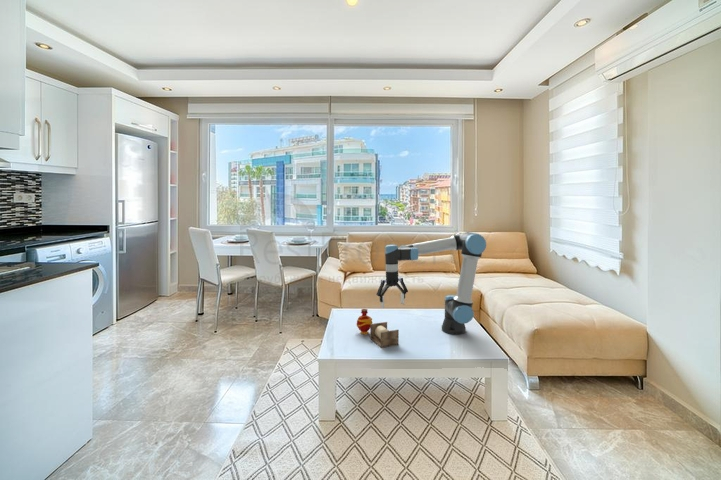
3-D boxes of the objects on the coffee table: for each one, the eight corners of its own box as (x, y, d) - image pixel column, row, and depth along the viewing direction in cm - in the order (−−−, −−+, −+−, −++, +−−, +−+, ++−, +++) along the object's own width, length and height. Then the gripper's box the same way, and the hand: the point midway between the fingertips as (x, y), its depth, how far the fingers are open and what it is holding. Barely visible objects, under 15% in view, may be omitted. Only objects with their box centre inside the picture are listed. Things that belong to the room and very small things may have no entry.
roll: (384, 336, 212) (385, 325, 212) (392, 343, 202) (394, 331, 201) (373, 336, 210) (375, 325, 209) (382, 343, 199) (383, 331, 199)
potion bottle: (358, 336, 214) (358, 312, 213) (355, 330, 225) (355, 307, 223) (374, 335, 216) (374, 311, 215) (370, 329, 227) (370, 307, 225)
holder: (386, 335, 215) (386, 321, 214) (398, 345, 201) (398, 329, 200) (370, 338, 211) (370, 324, 210) (381, 347, 197) (381, 332, 196)
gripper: (406, 267, 214) (407, 301, 216) (370, 271, 205) (371, 306, 207) (413, 269, 207) (413, 304, 209) (375, 273, 198) (376, 310, 200)
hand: (392, 305), depth 208 cm, fingers open, 13 cm apart
